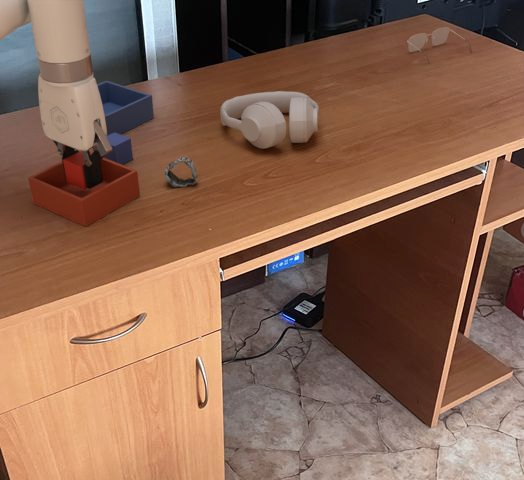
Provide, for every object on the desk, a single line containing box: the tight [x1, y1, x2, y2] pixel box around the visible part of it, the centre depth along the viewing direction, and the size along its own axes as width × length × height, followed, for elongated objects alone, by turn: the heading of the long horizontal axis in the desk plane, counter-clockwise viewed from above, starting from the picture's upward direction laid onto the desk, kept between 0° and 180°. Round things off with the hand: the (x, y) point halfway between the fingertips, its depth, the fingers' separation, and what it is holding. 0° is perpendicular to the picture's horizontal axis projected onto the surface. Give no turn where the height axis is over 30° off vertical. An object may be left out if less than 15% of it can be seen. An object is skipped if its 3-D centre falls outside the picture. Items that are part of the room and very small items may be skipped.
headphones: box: [219, 90, 320, 149], centre depth 146 cm, size 18×8×20 cm
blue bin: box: [97, 80, 155, 136], centre depth 150 cm, size 12×12×5 cm
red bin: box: [27, 152, 141, 228], centre depth 127 cm, size 12×12×5 cm
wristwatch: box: [164, 155, 198, 188], centre depth 131 cm, size 3×5×5 cm
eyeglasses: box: [406, 26, 473, 65], centre depth 180 cm, size 14×8×4 cm, turn 124°
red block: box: [63, 150, 91, 189], centre depth 125 cm, size 4×4×4 cm
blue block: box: [103, 132, 134, 165], centre depth 138 cm, size 4×4×4 cm
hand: (84, 179), depth 126 cm, fingers closed on red block, 4 cm apart
